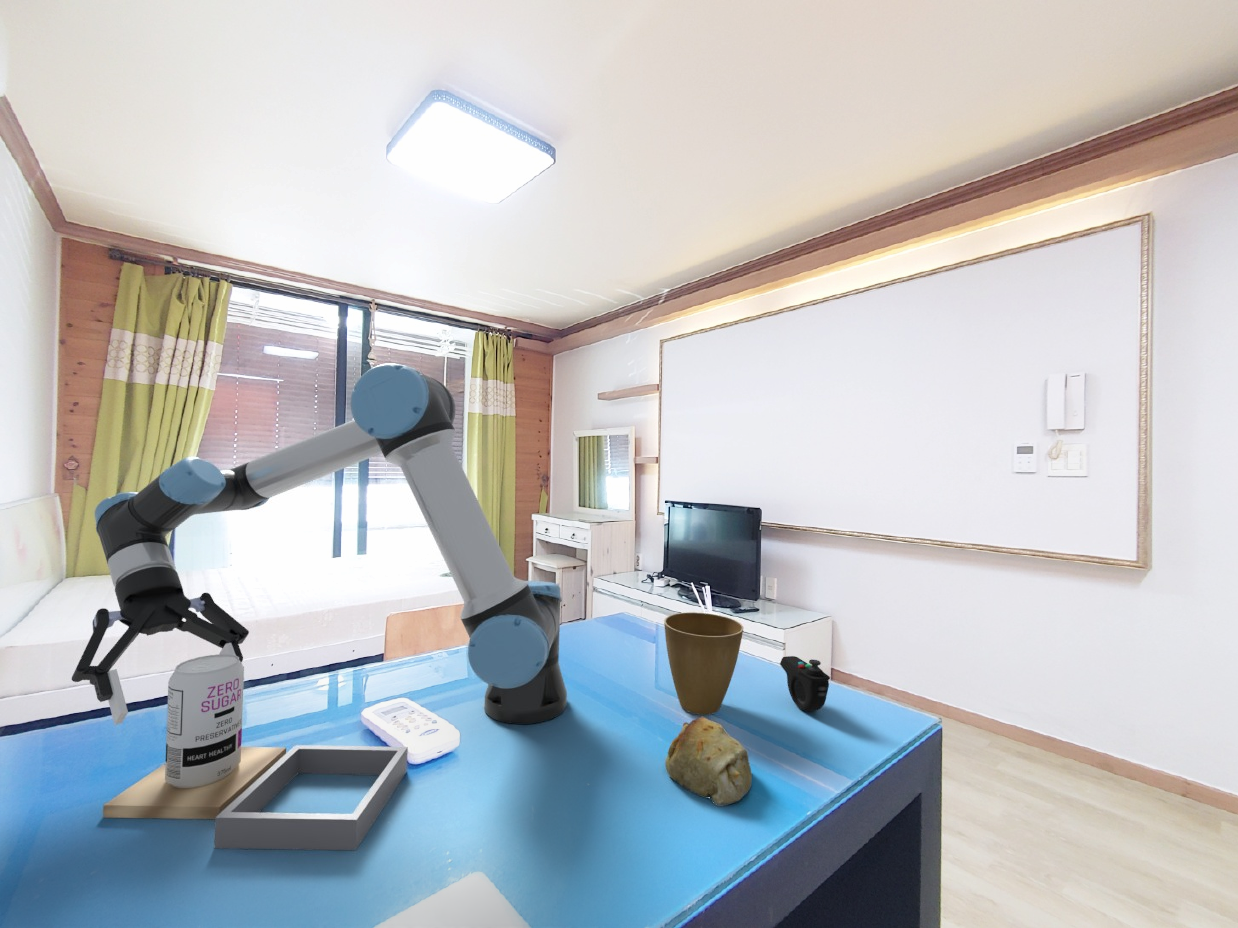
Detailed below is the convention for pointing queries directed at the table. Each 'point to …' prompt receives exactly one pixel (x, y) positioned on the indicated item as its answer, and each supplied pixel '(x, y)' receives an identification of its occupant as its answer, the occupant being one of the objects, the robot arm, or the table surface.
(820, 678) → the controller
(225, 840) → the bin
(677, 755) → the pastry
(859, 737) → the table surface
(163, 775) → the pad
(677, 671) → the plant pot
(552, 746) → the table surface
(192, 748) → the supplement can
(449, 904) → the table surface
